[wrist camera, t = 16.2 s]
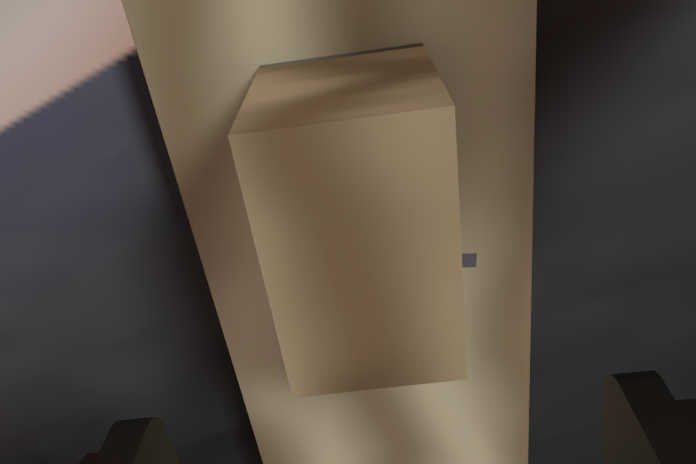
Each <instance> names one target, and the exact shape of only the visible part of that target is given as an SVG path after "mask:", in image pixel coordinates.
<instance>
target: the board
mask: <svg viewBox="0 0 696 464" xmlns="http://www.w3.org/2000/svg"><path fill="white" fill-rule="evenodd" d="M122 3H123V6H124V10H125V13H126V16H127V19H128V22H129V26H130V29H131V33H132V36H133V39H134V42H135V46H136V49H137V52H138V55H139V59H140V62H141V65H142V69H143V72H144V75H145V78H146V82H147V85H148V88H149V91H150V95H151V98H152V101H153V105H154V108H155V111H156V114H157V118H158V121H159V124H160V127H161V131H162V134H163V137H164V141H165V144H166V147H167V150H168V154H169V157H170V160H171V163H172V167H173V170H174V173H175V176H176V180H177V183H178V186H179V190H180V193H181V196H182V199H183V203H184V206H185V209H186V212H187V216H188V219H189V222H190V226H191V229H192V232H193V235H194V239H195V242H196V245H197V248H198V252H199V255H200V258H201V262H202V265H203V268H204V271H205V275H206V278H207V281H208V284H209V288H210V291H211V294H212V298H213V301H214V304H215V307H216V311H217V314H218V317H219V320H220V324H221V327H222V330H223V334H224V337H225V340H226V343H227V347H228V350H229V353H230V356H231V360H232V363H233V366H234V370H235V373H236V376H237V379H238V383H239V386H240V389H241V392H242V396H243V399H244V402H245V406H246V409H247V412H248V415H249V419H250V422H251V425H252V428H253V432H254V435H255V438H256V442H257V445H258V448H259V451H260V455H261V458H262V461H263V464H528V432H529V381H530V330H531V279H532V228H533V176H534V125H535V74H536V23H537V0H122ZM418 43H423V45H424V47H425V49H426V51H427V53H428V55H429V57H430V59H431V60H432V62H433V64H434V66H435V68H436V70H437V72H438V74H439V76H440V78H441V80H442V82H443V84H444V86H445V88H446V90H447V91H448V93H449V95H450V97H451V99H452V101H453V103H454V105H455V119H456V141H457V162H458V183H459V204H460V225H461V246H462V267H463V288H464V309H465V331H466V352H467V373H468V379H466V380H457V381H447V382H438V383H428V384H419V385H409V386H400V387H390V388H381V389H372V390H362V391H353V392H343V393H334V394H324V395H315V396H305V397H296V398H293V397H292V393H291V389H290V385H289V381H288V377H287V373H286V369H285V365H284V361H283V357H282V353H281V349H280V345H279V341H278V337H277V333H276V328H275V324H274V320H273V316H272V312H271V308H270V304H269V300H268V296H267V292H266V288H265V284H264V280H263V276H262V272H261V268H260V264H259V260H258V256H257V252H256V248H255V244H254V240H253V236H252V231H251V227H250V223H249V219H248V215H247V211H246V207H245V203H244V199H243V195H242V191H241V187H240V183H239V179H238V175H237V171H236V167H235V163H234V159H233V155H232V151H231V147H230V143H229V139H228V134H229V132H230V130H231V128H232V125H233V123H234V121H235V119H236V117H237V114H238V112H239V110H240V108H241V106H242V103H243V101H244V99H245V97H246V95H247V92H248V90H249V88H250V86H251V84H252V81H253V79H254V77H255V75H256V73H257V70H258V68H259V66H260V65H266V64H274V63H281V62H288V61H295V60H302V59H310V58H317V57H324V56H331V55H338V54H346V53H353V52H360V51H367V50H374V49H382V48H389V47H396V46H403V45H410V44H418Z"/></svg>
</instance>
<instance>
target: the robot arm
mask: <svg viewBox="0 0 696 464" xmlns="http://www.w3.org/2000/svg"><path fill="white" fill-rule="evenodd" d="M601 446H602V452H603V457H604V461H605V464H696V400H695V399H686V400H675V399H674V397H673V396H672V394H671V392H670V391H669V389H668V388H667V386H666V384H665V383H664V381H663V379H662V378H661V377H660V375H659V374H658V373H657V372H656V371H653V370H651V371H641V372H631V373H620V374H610V375H608V376H607V377H606V381H605V391H604V402H603V414H602V425H601ZM78 464H180V462H179V459H178V457H177V455H176V452H175V450H174V447H173V445H172V443H171V440H170V438H169V435H168V433H167V431H166V428H165V426H164V424H163V422H162V420H161V419H160V418H158V417H151V418H141V419H131V420H120V421H116V422H115V423H114V424H113V425H112V426H111V428H110V430H109V432H108V434H107V436H106V439H105V441H104V443H103V445H102V447H101V450H100V452H97V453H88V454H87V455H86V456H85V457H84V458H83V459H82V460H81V461H80V462H79V463H78Z"/></svg>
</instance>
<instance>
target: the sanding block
mask: <svg viewBox="0 0 696 464" xmlns="http://www.w3.org/2000/svg"><path fill="white" fill-rule="evenodd" d="M228 139H229V143H230V147H231V151H232V155H233V159H234V163H235V167H236V171H237V175H238V179H239V183H240V187H241V191H242V195H243V199H244V203H245V207H246V211H247V215H248V219H249V223H250V227H251V231H252V236H253V240H254V244H255V248H256V252H257V256H258V260H259V264H260V268H261V272H262V276H263V280H264V284H265V288H266V292H267V296H268V300H269V304H270V308H271V312H272V316H273V320H274V324H275V328H276V333H277V337H278V341H279V345H280V349H281V353H282V357H283V361H284V365H285V369H286V373H287V377H288V381H289V385H290V389H291V393H292V397H293V398H296V397H305V396H315V395H324V394H334V393H343V392H353V391H362V390H372V389H381V388H390V387H400V386H409V385H419V384H428V383H438V382H447V381H457V380H466V379H468V373H467V352H466V331H465V309H464V288H463V267H462V246H461V225H460V204H459V183H458V162H457V141H456V119H455V105H454V103H453V101H452V99H451V97H450V95H449V93H448V91H447V90H446V88H445V86H444V84H443V82H442V80H441V78H440V76H439V74H438V72H437V70H436V68H435V66H434V64H433V62H432V60H431V59H430V57H429V55H428V53H427V51H426V49H425V47H424V45H423V43H418V44H410V45H403V46H396V47H389V48H382V49H374V50H367V51H360V52H353V53H346V54H338V55H331V56H324V57H317V58H310V59H302V60H295V61H288V62H281V63H274V64H266V65H260V66H259V68H258V70H257V73H256V75H255V77H254V79H253V81H252V84H251V86H250V88H249V90H248V92H247V95H246V97H245V99H244V101H243V103H242V106H241V108H240V110H239V112H238V114H237V117H236V119H235V121H234V123H233V125H232V128H231V130H230V132H229V134H228Z"/></svg>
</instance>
